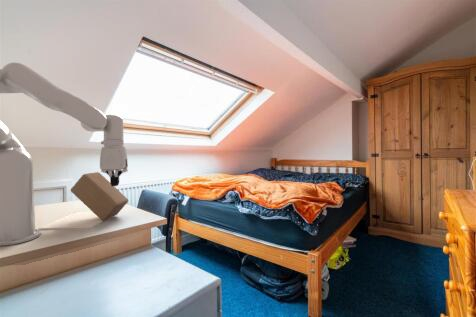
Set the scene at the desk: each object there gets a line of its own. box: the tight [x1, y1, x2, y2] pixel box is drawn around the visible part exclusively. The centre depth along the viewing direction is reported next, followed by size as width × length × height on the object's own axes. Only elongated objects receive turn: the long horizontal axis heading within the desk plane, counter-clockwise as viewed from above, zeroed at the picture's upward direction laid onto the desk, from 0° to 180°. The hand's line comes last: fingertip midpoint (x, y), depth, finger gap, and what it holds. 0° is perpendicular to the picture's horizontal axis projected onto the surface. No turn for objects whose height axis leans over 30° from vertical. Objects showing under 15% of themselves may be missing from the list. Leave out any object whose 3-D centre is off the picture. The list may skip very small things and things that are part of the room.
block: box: [70, 171, 129, 222], centre depth 102 cm, size 10×10×20 cm
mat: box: [37, 211, 104, 231], centre depth 100 cm, size 20×22×1 cm
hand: (114, 185), depth 101 cm, fingers closed
